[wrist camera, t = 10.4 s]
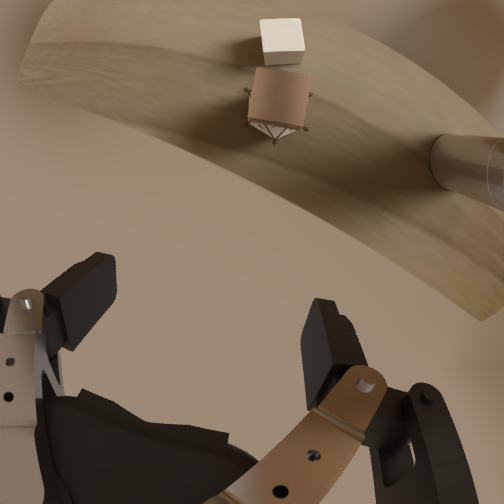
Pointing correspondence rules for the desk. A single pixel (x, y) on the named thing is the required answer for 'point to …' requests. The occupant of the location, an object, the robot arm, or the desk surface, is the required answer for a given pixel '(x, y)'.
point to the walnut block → (279, 98)
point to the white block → (282, 41)
